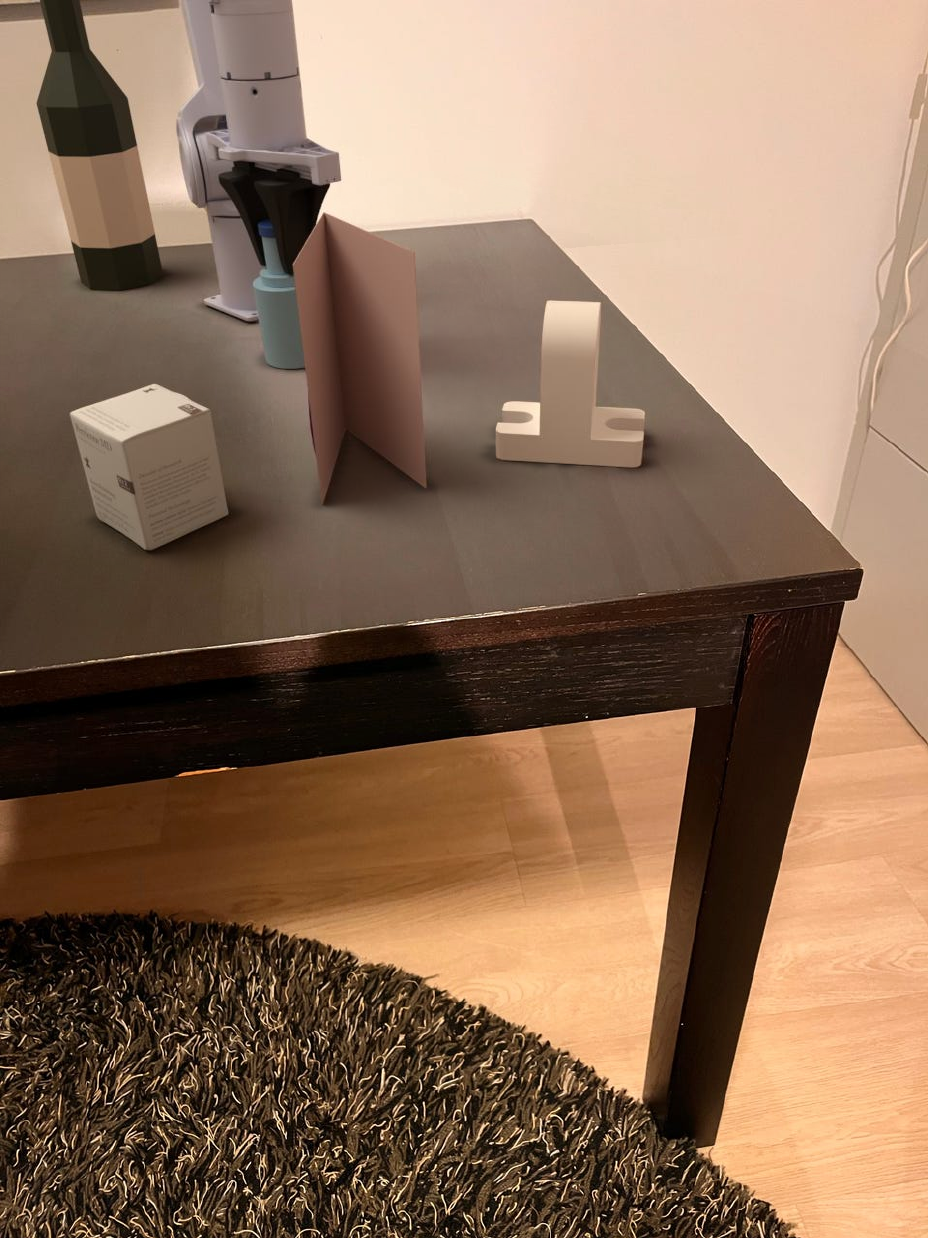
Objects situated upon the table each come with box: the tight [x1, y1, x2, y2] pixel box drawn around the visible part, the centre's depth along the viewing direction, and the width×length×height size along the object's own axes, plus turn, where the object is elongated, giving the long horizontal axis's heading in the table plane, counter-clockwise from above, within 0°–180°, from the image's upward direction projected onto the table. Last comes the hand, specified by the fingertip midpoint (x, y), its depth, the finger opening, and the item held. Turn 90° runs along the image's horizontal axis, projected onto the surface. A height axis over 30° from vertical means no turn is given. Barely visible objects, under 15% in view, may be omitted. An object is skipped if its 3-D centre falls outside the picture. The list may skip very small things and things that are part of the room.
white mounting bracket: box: [495, 300, 646, 468], centre depth 65 cm, size 5×10×10 cm, turn 80°
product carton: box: [69, 383, 229, 551], centre depth 59 cm, size 6×6×7 cm
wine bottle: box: [36, 0, 164, 292], centre depth 94 cm, size 8×8×30 cm
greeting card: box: [293, 212, 427, 505], centre depth 62 cm, size 11×7×15 cm, turn 178°
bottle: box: [253, 219, 305, 370], centre depth 80 cm, size 5×5×11 cm
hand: (284, 267), depth 79 cm, fingers closed on bottle, 3 cm apart
